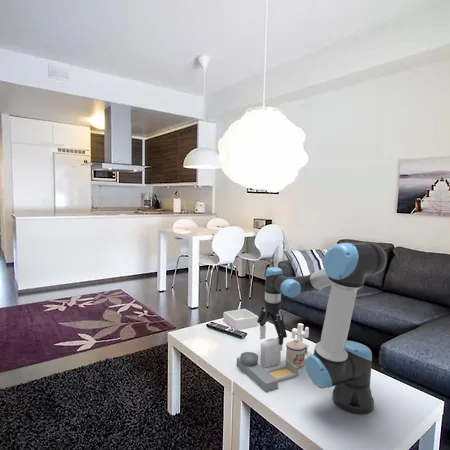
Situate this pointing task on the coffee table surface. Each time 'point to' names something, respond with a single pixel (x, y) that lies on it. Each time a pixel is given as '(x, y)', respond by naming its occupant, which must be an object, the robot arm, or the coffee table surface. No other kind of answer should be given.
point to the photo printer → (269, 353)
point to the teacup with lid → (296, 352)
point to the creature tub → (240, 319)
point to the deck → (260, 375)
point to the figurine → (300, 333)
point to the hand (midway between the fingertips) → (270, 344)
